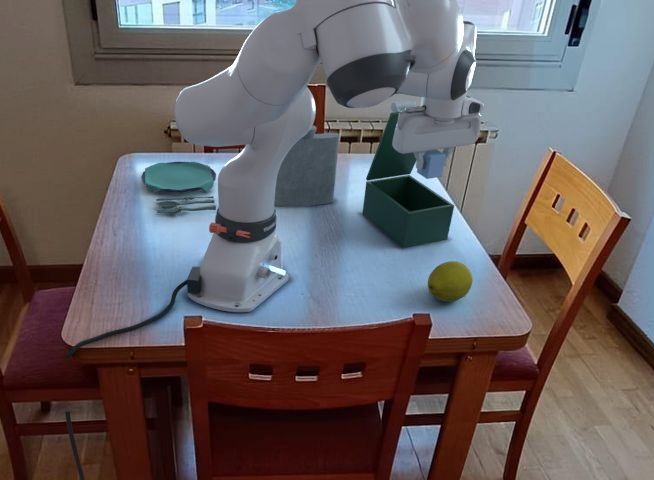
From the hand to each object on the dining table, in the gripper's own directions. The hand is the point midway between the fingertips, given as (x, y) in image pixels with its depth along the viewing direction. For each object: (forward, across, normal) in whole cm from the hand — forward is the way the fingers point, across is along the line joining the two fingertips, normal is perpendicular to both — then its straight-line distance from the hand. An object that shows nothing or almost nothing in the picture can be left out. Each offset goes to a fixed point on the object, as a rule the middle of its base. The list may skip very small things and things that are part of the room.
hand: (430, 167), depth 136 cm
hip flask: (+18, -17, +26) cm, 36 cm away
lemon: (+18, -9, -24) cm, 31 cm away
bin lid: (0, 0, +12) cm, 12 cm away
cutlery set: (+18, -45, +44) cm, 66 cm away
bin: (+18, 0, +6) cm, 19 cm away
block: (+2, 0, 0) cm, 2 cm away
